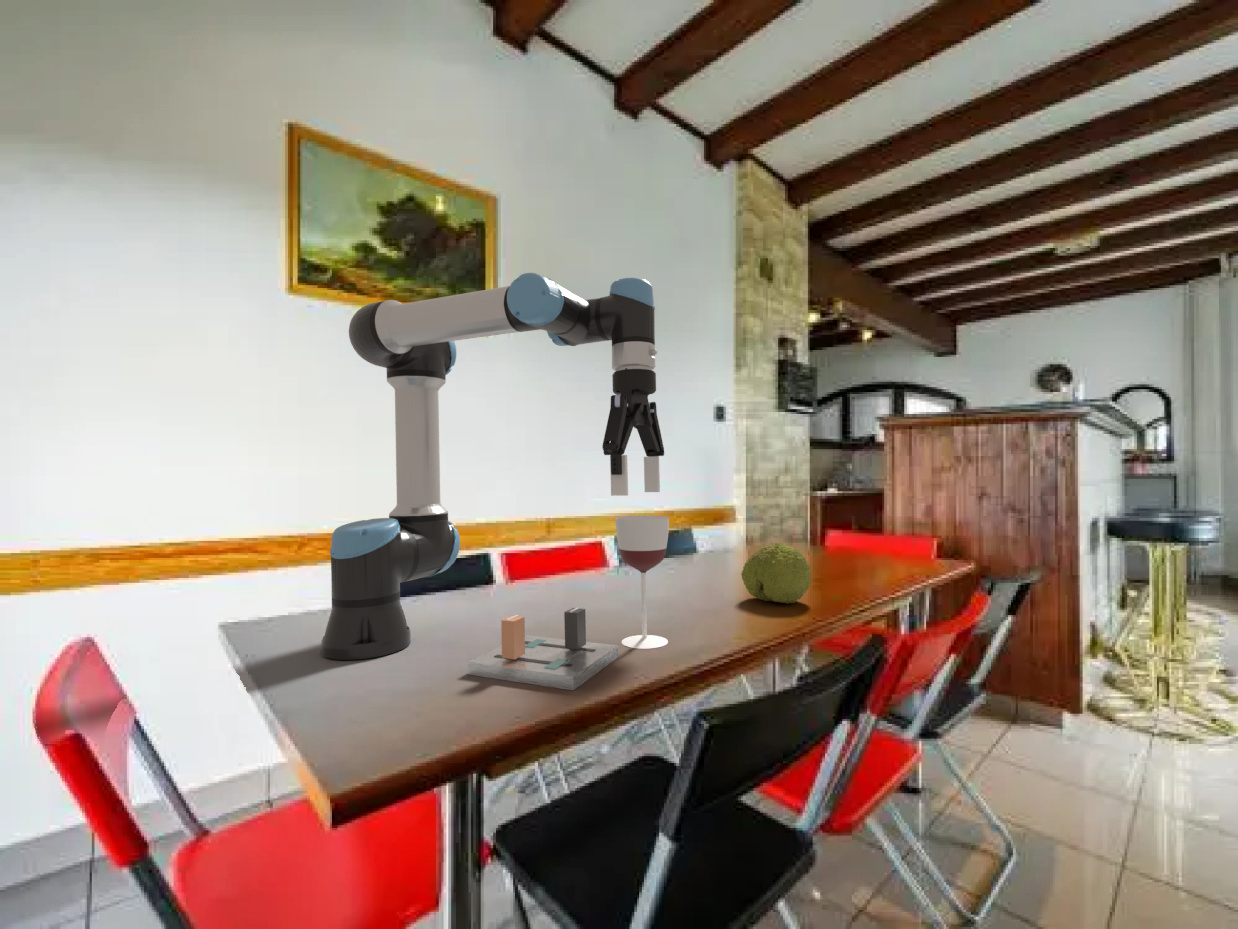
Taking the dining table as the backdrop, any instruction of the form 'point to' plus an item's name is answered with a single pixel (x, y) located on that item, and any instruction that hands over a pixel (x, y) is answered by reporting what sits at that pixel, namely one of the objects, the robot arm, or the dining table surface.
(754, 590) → the fruit
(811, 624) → the dining table surface
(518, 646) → the block
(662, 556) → the wineglass
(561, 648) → the console
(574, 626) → the fader black
